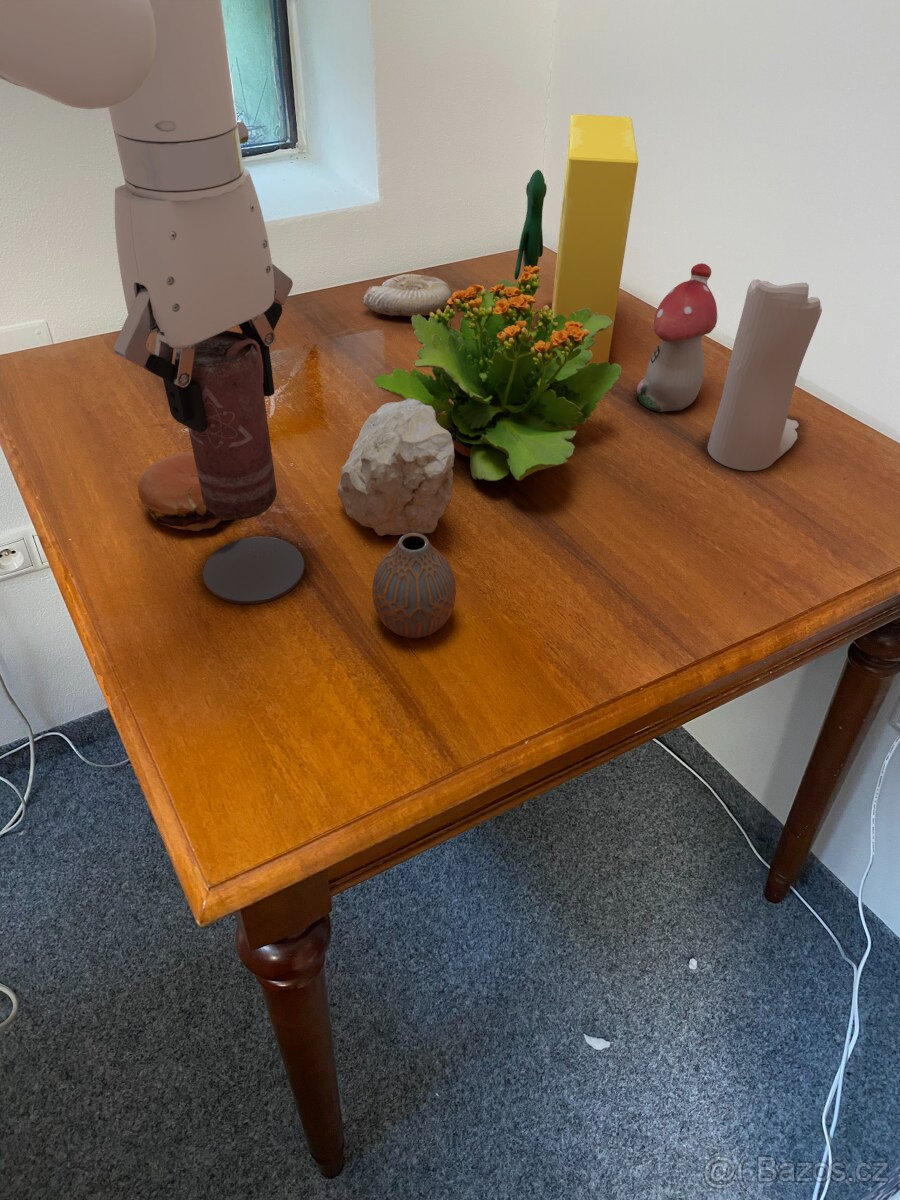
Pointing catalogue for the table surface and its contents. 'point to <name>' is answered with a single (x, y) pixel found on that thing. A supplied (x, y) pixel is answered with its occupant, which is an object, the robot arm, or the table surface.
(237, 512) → the can
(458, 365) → the potted flower
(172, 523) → the burger
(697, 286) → the decorative ornament
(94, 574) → the table surface
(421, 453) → the stone
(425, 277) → the fossil
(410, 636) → the vase
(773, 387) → the candle
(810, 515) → the table surface
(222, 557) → the coaster
